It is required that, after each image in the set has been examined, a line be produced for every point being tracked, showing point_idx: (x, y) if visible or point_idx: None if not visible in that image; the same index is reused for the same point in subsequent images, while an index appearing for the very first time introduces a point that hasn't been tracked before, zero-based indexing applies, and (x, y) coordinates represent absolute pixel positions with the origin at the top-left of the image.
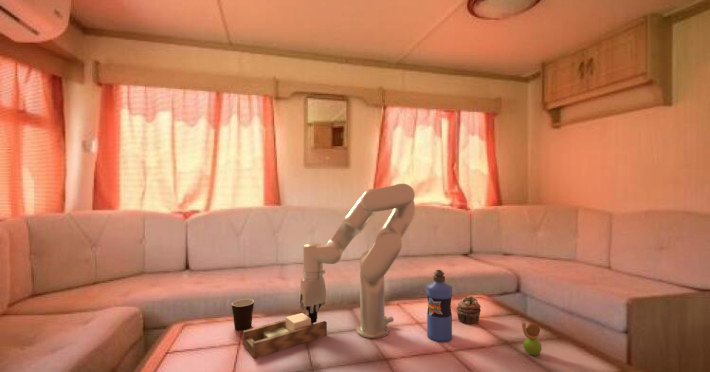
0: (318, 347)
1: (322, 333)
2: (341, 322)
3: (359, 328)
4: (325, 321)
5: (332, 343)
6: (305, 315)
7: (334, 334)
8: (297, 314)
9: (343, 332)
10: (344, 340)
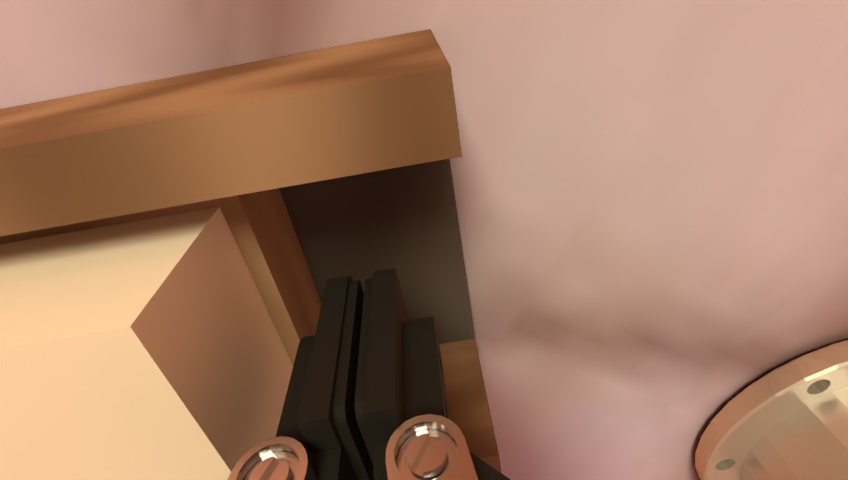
0: None
1: None
2: (812, 158)
3: (770, 421)
4: (499, 468)
5: None
6: (203, 453)
7: (546, 366)
8: (8, 366)
9: (636, 364)
10: (553, 456)
